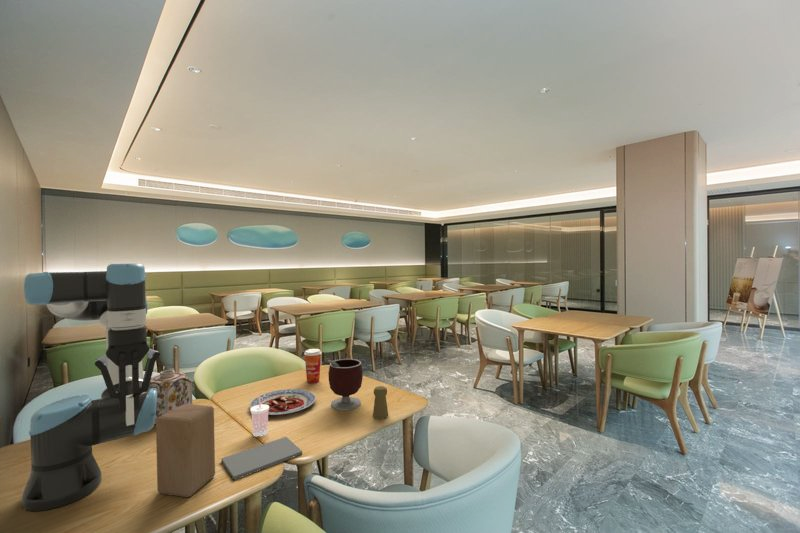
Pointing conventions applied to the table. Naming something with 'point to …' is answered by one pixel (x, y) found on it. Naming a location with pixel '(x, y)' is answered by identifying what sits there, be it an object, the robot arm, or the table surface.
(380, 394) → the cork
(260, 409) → the beverage cup
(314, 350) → the coffee cup
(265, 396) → the ceramic plate
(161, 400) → the decorative jar
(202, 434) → the block
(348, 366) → the mate gourd
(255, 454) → the mat
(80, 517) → the table surface
